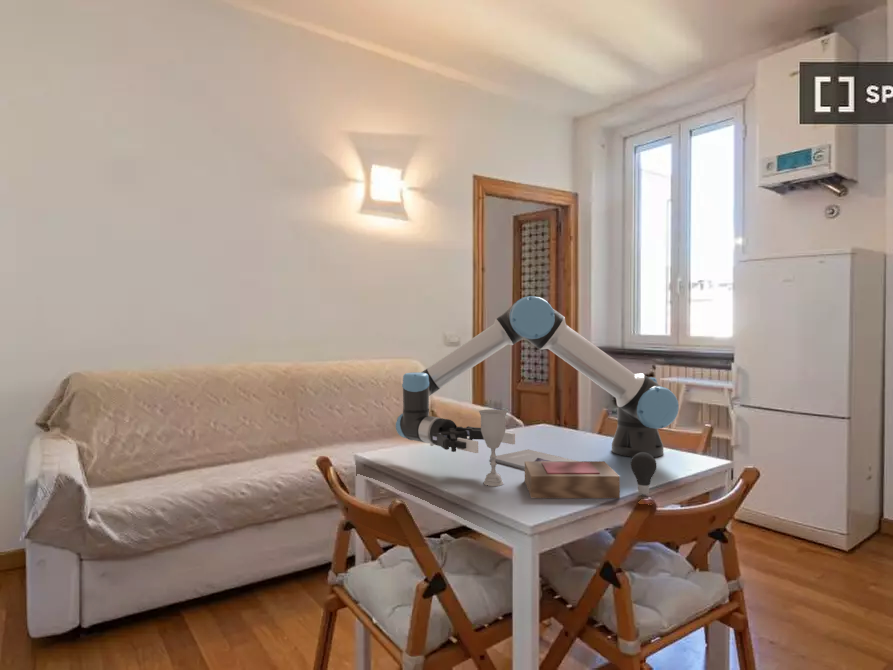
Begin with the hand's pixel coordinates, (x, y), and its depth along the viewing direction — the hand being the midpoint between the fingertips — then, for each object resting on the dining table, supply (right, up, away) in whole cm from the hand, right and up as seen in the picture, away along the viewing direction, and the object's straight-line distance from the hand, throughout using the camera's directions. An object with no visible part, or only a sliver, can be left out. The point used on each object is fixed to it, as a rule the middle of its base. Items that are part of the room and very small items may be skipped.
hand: (496, 443), depth 139 cm
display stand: (+17, -10, -4) cm, 20 cm away
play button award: (+13, -11, +22) cm, 28 cm away
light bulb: (+33, -10, -10) cm, 36 cm away
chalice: (-1, -10, +1) cm, 11 cm away
